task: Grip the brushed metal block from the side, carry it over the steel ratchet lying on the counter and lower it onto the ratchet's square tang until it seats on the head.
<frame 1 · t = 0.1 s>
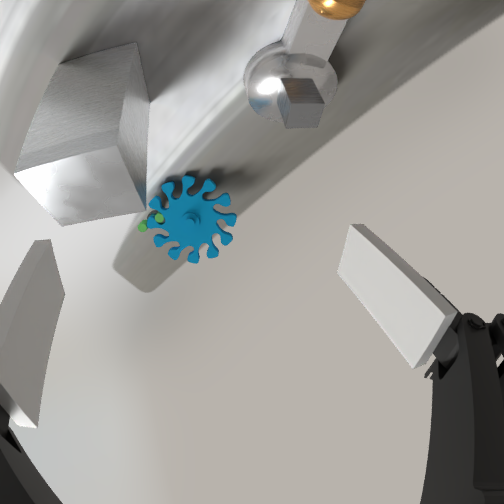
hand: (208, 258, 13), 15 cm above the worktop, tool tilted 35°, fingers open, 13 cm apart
brushed metal block: (105, 83, 18), on the worktop
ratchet: (287, 75, 21), on the worktop
gear: (183, 191, 35), on the worktop
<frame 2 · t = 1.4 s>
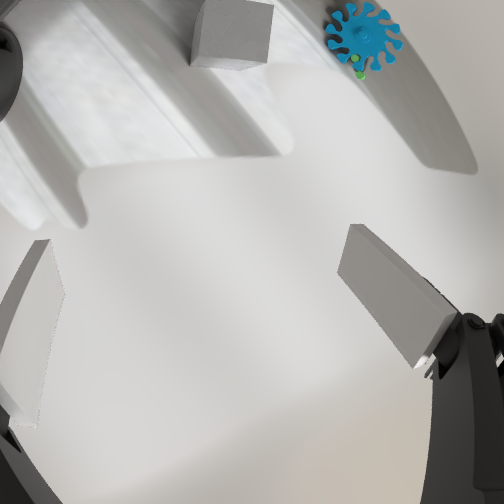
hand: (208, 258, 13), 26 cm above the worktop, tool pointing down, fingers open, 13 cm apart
brushed metal block: (217, 45, 29), on the worktop
gear: (347, 42, 32), on the worktop
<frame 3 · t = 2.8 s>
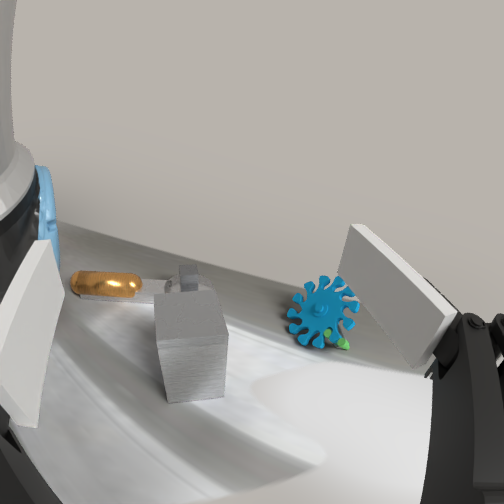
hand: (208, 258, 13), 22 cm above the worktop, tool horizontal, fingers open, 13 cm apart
brushed metal block: (192, 378, 32), on the worktop
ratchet: (189, 298, 43), on the worktop
gear: (316, 334, 40), on the worktop
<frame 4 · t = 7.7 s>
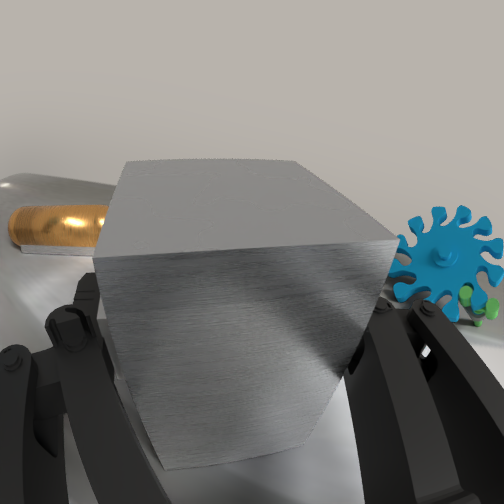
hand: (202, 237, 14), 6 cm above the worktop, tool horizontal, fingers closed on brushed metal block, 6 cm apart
brushed metal block: (220, 405, 13), on the worktop, touching gripper
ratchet: (203, 249, 25), on the worktop
gear: (431, 304, 21), on the worktop
when the fingers open (10 cm above the worktop, at t = 12.4 s): brushed metal block drops 2 cm, resting on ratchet.
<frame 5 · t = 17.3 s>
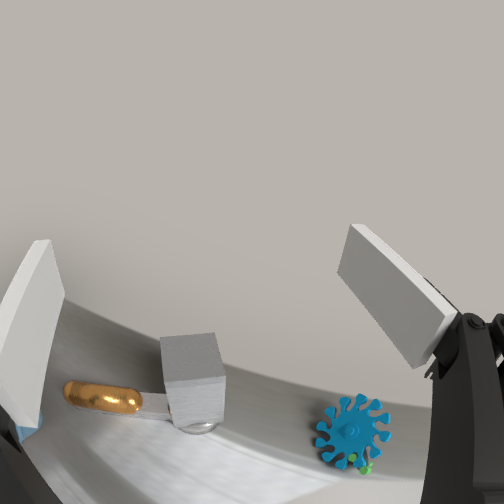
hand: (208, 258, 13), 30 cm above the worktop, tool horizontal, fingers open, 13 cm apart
brushed metal block: (194, 405, 35), point 2 cm above the worktop, touching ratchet
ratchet: (195, 412, 36), on the worktop
gear: (343, 447, 32), on the worktop
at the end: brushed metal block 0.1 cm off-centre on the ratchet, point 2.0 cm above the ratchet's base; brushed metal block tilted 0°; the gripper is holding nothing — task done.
